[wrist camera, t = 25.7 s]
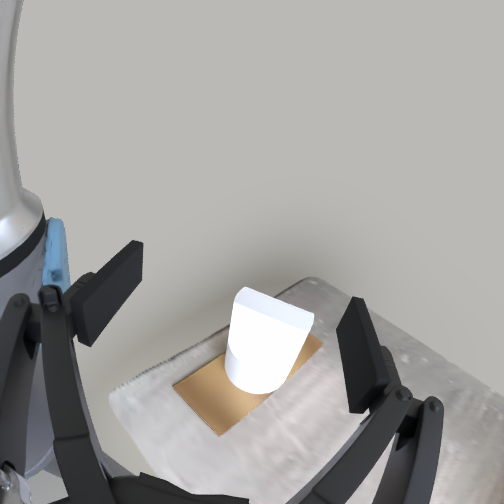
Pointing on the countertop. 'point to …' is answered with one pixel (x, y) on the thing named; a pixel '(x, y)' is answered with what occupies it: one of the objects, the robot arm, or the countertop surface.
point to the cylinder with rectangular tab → (263, 341)
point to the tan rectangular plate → (228, 391)
